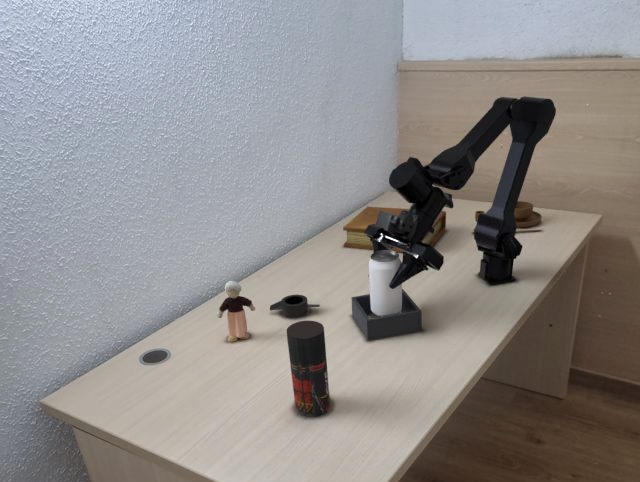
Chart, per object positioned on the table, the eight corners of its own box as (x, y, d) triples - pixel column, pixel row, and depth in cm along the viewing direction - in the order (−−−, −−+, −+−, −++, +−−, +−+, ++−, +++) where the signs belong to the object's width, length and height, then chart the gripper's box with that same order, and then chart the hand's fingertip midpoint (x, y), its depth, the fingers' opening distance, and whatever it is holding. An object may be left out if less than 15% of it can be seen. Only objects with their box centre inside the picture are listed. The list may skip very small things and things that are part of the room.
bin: (402, 307, 134) (402, 288, 131) (421, 330, 124) (421, 311, 122) (352, 316, 132) (351, 297, 129) (367, 340, 122) (366, 320, 120)
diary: (445, 230, 172) (446, 210, 169) (426, 255, 158) (426, 233, 155) (369, 224, 181) (368, 204, 178) (344, 246, 167) (343, 226, 164)
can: (400, 317, 123) (399, 262, 117) (368, 317, 124) (366, 262, 118) (403, 303, 128) (402, 249, 122) (372, 302, 130) (370, 249, 123)
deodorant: (294, 398, 107) (285, 322, 99) (328, 394, 107) (322, 318, 99) (296, 418, 102) (287, 340, 94) (331, 414, 102) (325, 336, 94)
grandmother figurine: (226, 346, 125) (216, 289, 118) (220, 338, 128) (210, 282, 121) (261, 335, 127) (253, 279, 121) (254, 328, 130) (246, 273, 124)
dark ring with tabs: (289, 300, 141) (287, 289, 139) (323, 310, 135) (322, 298, 134) (267, 314, 135) (265, 302, 134) (302, 324, 130) (300, 312, 129)
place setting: (549, 231, 165) (552, 209, 162) (474, 236, 166) (476, 214, 163) (531, 210, 180) (533, 190, 177) (462, 215, 181) (463, 195, 178)
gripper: (369, 184, 123) (328, 251, 124) (433, 204, 109) (387, 279, 110) (399, 213, 130) (361, 275, 131) (463, 234, 117) (419, 304, 118)
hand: (380, 282), depth 122 cm, fingers closed on can, 6 cm apart
